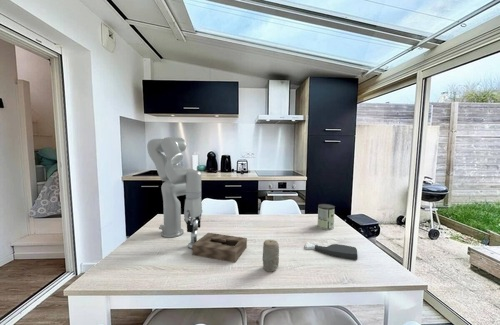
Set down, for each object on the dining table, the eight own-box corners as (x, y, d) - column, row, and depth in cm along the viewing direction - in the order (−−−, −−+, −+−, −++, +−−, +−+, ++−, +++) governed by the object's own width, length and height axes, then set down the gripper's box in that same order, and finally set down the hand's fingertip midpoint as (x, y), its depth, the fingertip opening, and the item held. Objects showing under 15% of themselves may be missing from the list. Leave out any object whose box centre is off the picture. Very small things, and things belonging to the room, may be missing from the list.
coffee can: (319, 223, 157) (320, 203, 156) (335, 226, 151) (336, 205, 150) (315, 227, 148) (316, 206, 147) (331, 231, 143) (332, 208, 142)
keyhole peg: (186, 248, 116) (185, 221, 115) (192, 243, 121) (191, 217, 120) (195, 249, 114) (195, 222, 113) (201, 245, 120) (201, 219, 119)
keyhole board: (192, 254, 109) (192, 244, 109) (208, 241, 124) (208, 232, 124) (235, 262, 103) (235, 251, 102) (246, 247, 118) (246, 238, 117)
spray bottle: (357, 261, 106) (303, 252, 115) (356, 251, 116) (307, 244, 125) (357, 255, 105) (303, 246, 115) (356, 246, 115) (307, 238, 125)
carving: (259, 269, 97) (259, 241, 96) (270, 263, 103) (271, 236, 102) (270, 275, 93) (271, 246, 92) (281, 268, 98) (282, 241, 97)
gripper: (196, 191, 125) (196, 223, 127) (177, 198, 109) (177, 234, 110) (208, 192, 123) (208, 225, 124) (190, 199, 107) (191, 236, 108)
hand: (193, 229), depth 117 cm, fingers open, 6 cm apart
